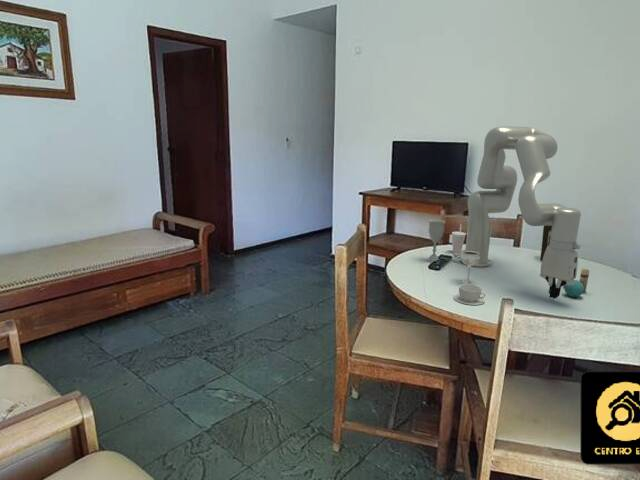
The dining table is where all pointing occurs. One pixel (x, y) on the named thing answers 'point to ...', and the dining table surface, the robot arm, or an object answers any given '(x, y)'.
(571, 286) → the ball
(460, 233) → the smoothie
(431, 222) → the chalice
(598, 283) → the dining table surface
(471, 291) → the teacup
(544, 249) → the olive oil
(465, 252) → the wineglass
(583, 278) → the back right pin
